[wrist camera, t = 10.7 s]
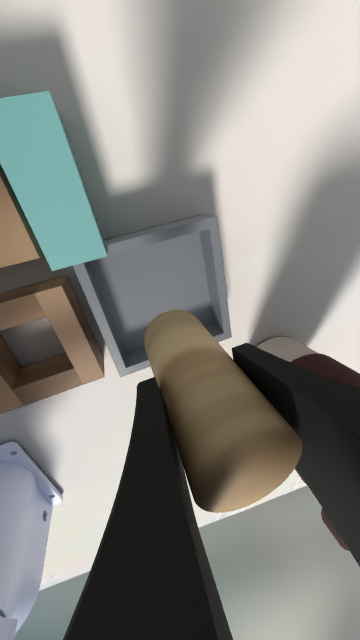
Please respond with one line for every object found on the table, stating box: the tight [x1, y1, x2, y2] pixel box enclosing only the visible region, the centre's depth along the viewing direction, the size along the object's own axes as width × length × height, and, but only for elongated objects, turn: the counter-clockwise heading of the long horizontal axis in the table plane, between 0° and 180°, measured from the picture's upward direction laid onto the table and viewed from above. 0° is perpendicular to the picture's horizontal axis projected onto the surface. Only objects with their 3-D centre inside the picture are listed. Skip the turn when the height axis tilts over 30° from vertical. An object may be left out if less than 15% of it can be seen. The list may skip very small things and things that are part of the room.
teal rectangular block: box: [0, 91, 107, 271], centre depth 13 cm, size 7×3×3 cm, turn 11°
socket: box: [0, 275, 104, 414], centre depth 16 cm, size 7×7×2 cm
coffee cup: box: [257, 337, 360, 551], centre depth 19 cm, size 10×10×15 cm
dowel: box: [144, 310, 302, 513], centre depth 9 cm, size 3×3×7 cm
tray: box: [73, 215, 232, 377], centre depth 17 cm, size 9×9×2 cm
